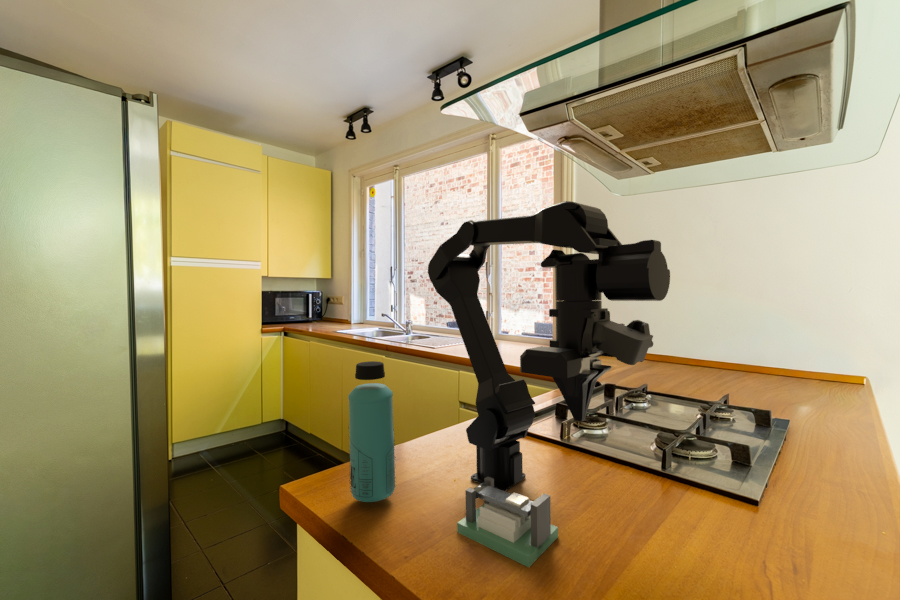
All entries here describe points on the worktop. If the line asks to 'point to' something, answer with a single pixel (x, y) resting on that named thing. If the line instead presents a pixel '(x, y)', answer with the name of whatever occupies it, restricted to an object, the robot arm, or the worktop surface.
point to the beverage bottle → (371, 436)
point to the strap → (504, 499)
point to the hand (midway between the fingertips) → (579, 420)
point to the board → (509, 527)
